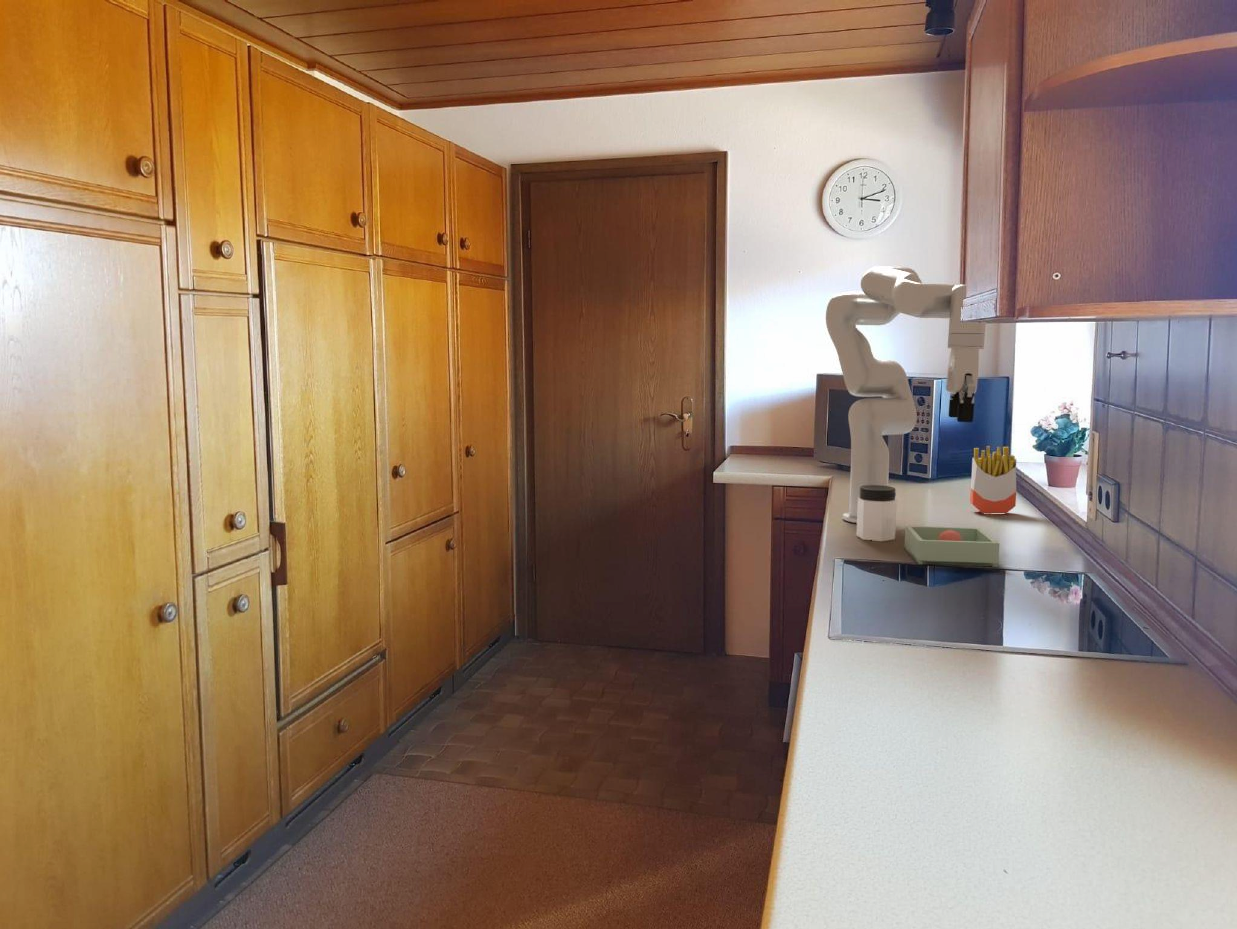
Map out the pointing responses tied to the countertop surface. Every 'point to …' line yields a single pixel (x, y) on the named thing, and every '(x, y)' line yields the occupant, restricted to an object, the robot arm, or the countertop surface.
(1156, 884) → the countertop surface
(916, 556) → the green bin
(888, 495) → the jar
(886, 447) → the robot arm
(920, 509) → the countertop surface
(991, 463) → the french fries container
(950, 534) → the tomato ball
